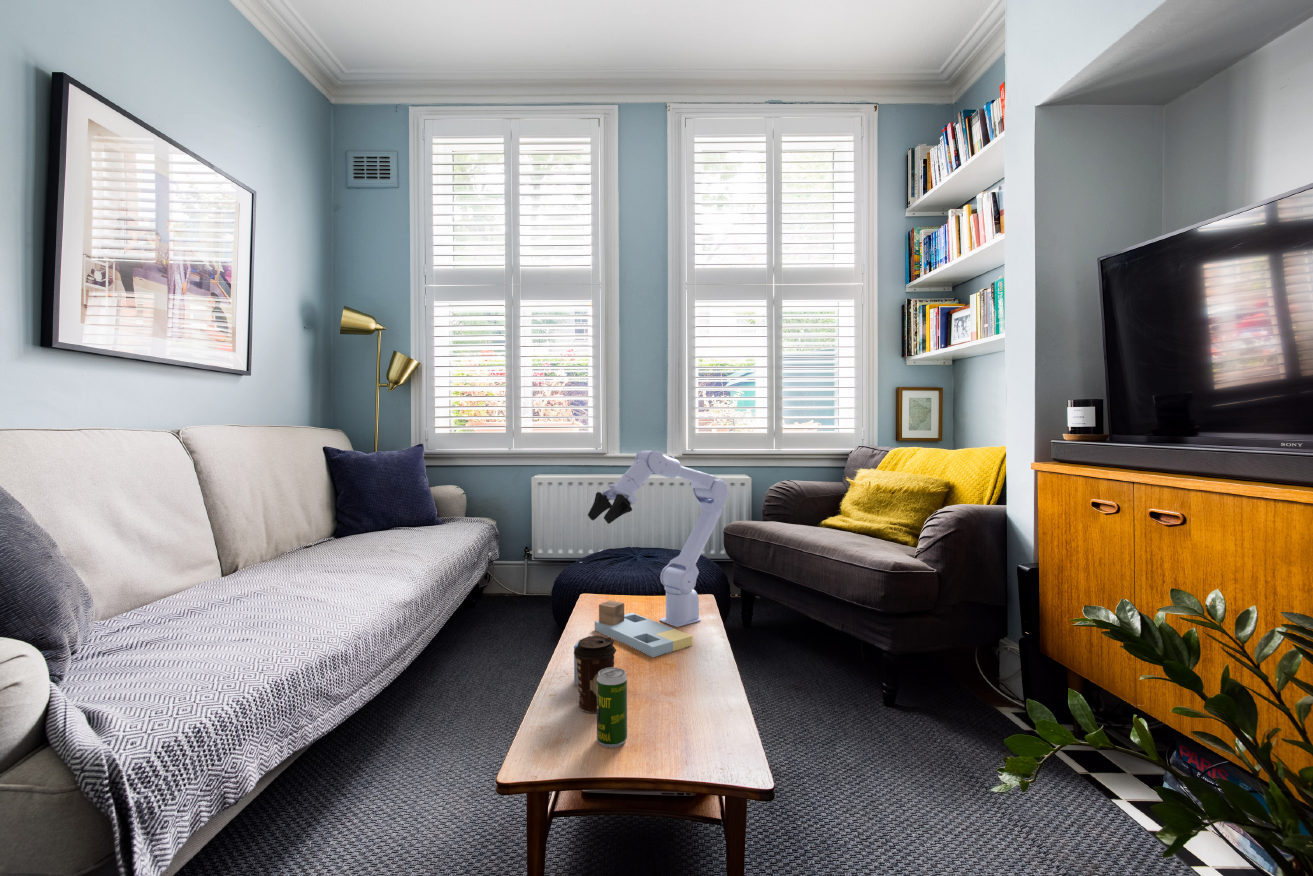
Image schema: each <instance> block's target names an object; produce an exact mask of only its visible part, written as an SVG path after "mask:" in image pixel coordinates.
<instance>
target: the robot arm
mask: <svg viewBox="0 0 1313 876" xmlns="http://www.w3.org/2000/svg"><path fill="white" fill-rule="evenodd" d="M652 474H656V475H659V476H662V477H665V478H667V479H668V478H669V479H670V480H671V479H675V478H677V477H678V478H681V479H682V480H686V481H688V482H691V483H690V488H692V492H693V495H694V497H695V499H696V501H697V504H698V506H699V507H700V508H701V513H700V515H699V517H698V519H697V521H696V523H695V524H694V526H693V528H692V530H691V532H690V534H689V536H688V537H687V539H686V542H685V543H684V546H683V547H682V549H681V551H680V553H679V555H677V556H675V557H674V558H672V559H670V561H669V562H668V564H667V565H665V566H664V567H663V568H662V570H661V572H660V577H659V578H660V582H661V584H662V585H663V586H664V590H665V617H662V618H659V621H660V622H662V623H665V624H667V625H671V626H672V627H673V626H674V627H675V628H679V627H683V626H687V625H690V624H694V623H697V622H701V621H702V619H701V618H700V614H699V613H700V608H699V607H700V606H699V605H700V603H699V602H700V599H699V594H698V593H697V591H696V590H695V587H696V583H697V579H698V576H699V573H700V572H699V569H698V567H697V562H698V561H699V559H700V556H701V555H702V553H703V551H704V549H705V547H706V544H707V542H708V541H709V539H710V537H711V535H712V533H713V531H714V529H715V527H716V525H717V523H718V521H719V519H720V518H721V516H722V512H723V509H724V508H723V506H724V504H725V502H726V501H727V499H728V497H729V489H728V484H727V483H726V481H725V480H724V479H721V478H719V479H718V477H716V476H714V475H712V474H709V473H706V472H703V471H699V470H697V469H693V468H690V467H687V466H683V465H681V462H680V461H679V459H676V458H675V456H674V455H668V456H667V455H664V454H663V453H662V451H660V450H659V451H658V450H642V451H640V452H636V454H635V458H634V462H633V463H632V464H631V465H630V467H629V468H628V469H627V470H626V471H625V473H624V474H623V475H622V476H621V477H620V478H619V479H618V481H616V482H615V483H614V484H613V483H610V484H609V485H608V487H609V488H607V489H604V490H601V491H596V493H595V497H594V500H593V503H592V505H591V508H590V509H589V512H588V513H587V516H588V518H589V519H590V520H591V521H594V520H596V519H598V517H599V516H600V515H602V514H603V513H604V512H606V511H607V512H606V513H605V514H604V517H603V520H604V521H605V522H606V523H607V524H611V523H613V522H614V521H615V520H616V519H618V518H620V517H621V516H624V515H625V514H627V513H630V512H632V511H633V507H632V506H631V505H633V506H634V505H635V504H636V503H637V501H638V500H639V499H638V498H637V496H636V495H635V494H636V493H637V492H638V490H640V488H642V486H643V485H644V484H645V482H646V481H647V480H648V479H649V478H650V477H651V476H652ZM610 501H613V503H611V502H610Z"/></svg>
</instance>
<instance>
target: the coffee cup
mask: <svg viewBox="0 0 1313 876" xmlns="http://www.w3.org/2000/svg"><path fill="white" fill-rule="evenodd" d="M579 640H580V641H579V642H578V641H577V642H578V646H577V647H576V648H575V650H574V649H573V656H574V655H575V657H576V660H577V672H578V685H577V686H578V689H577V690H578V693H579V701H578V707H579V709H580V710H581V711H582V710H583V711H582V712H584V711H585V712H584V713H588V714H589V713H590V714H591V713H593V714H594V713H596V714H597V677H598V672H599V671H600V670H602V669H605V668H615V654H616V652H617V649H616V648H615V646H614V643H615V639H612V638H610V637H608V636H605V635H604V636H602V635H593V636H587V637H583V638H581V639H579Z"/></svg>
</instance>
